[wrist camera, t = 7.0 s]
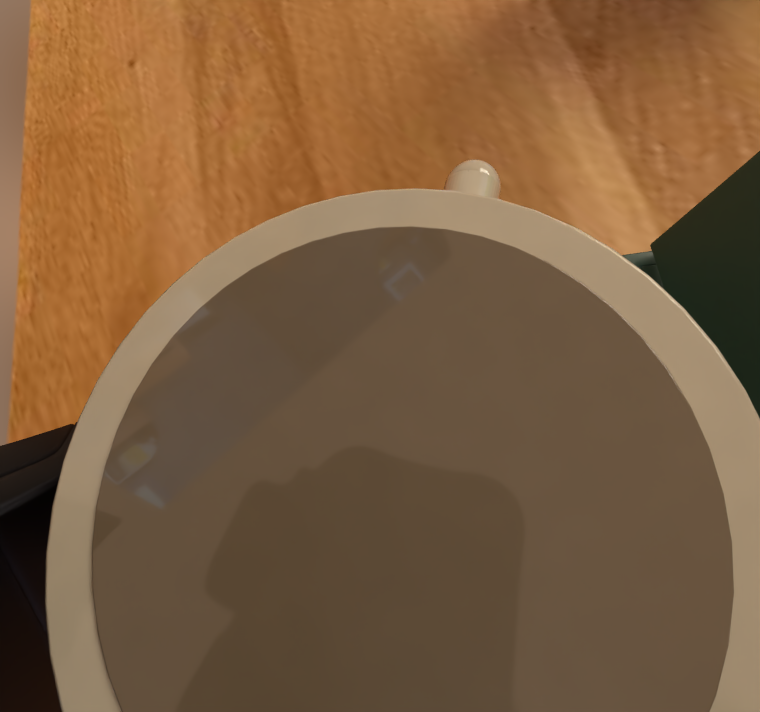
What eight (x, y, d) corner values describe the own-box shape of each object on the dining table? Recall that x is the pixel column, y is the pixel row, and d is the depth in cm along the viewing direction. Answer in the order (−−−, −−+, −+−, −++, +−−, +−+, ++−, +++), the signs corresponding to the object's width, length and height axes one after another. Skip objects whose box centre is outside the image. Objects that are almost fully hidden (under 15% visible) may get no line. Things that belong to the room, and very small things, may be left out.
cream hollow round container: (515, 645, 13) (823, 1270, 2) (292, 576, 14) (-93, 804, 4) (559, 340, 15) (807, 34, 5) (365, 305, 16) (247, 8, 6)
